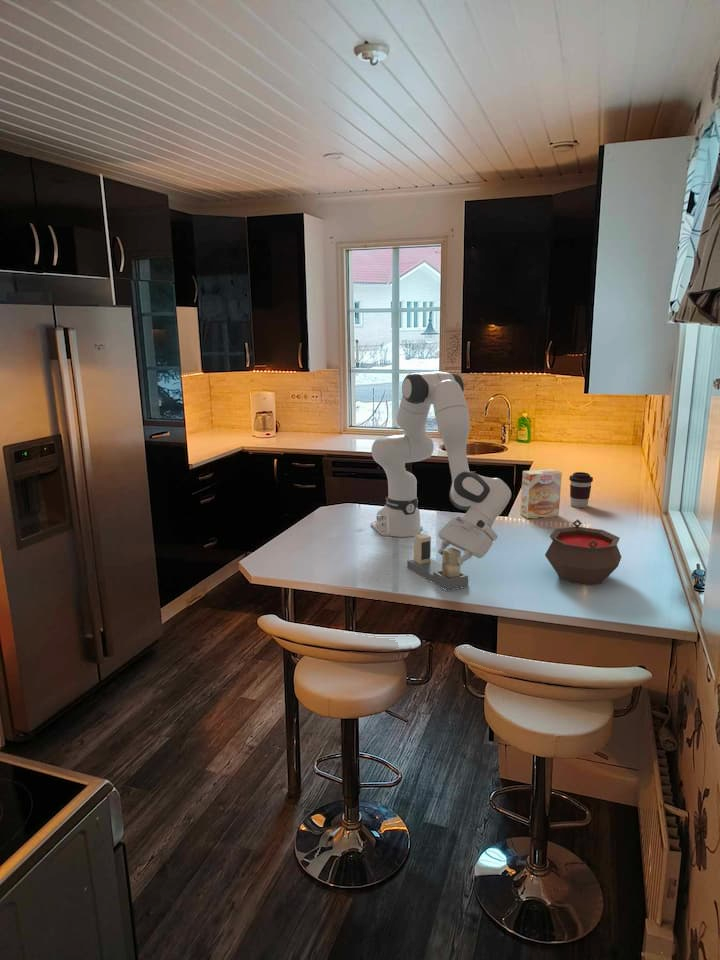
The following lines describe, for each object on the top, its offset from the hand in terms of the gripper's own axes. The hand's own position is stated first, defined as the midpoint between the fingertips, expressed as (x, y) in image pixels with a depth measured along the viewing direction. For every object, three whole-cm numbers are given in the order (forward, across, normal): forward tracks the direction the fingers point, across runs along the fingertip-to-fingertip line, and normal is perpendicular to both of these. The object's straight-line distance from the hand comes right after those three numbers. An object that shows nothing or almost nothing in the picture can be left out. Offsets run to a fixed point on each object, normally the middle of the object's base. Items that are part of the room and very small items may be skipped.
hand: (449, 558), depth 199 cm
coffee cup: (-68, -44, +80) cm, 114 cm away
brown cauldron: (-23, +16, +36) cm, 45 cm away
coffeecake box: (-49, -42, +62) cm, 90 cm away
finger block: (+4, 0, +5) cm, 6 cm away
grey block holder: (+6, -8, +7) cm, 12 cm away
